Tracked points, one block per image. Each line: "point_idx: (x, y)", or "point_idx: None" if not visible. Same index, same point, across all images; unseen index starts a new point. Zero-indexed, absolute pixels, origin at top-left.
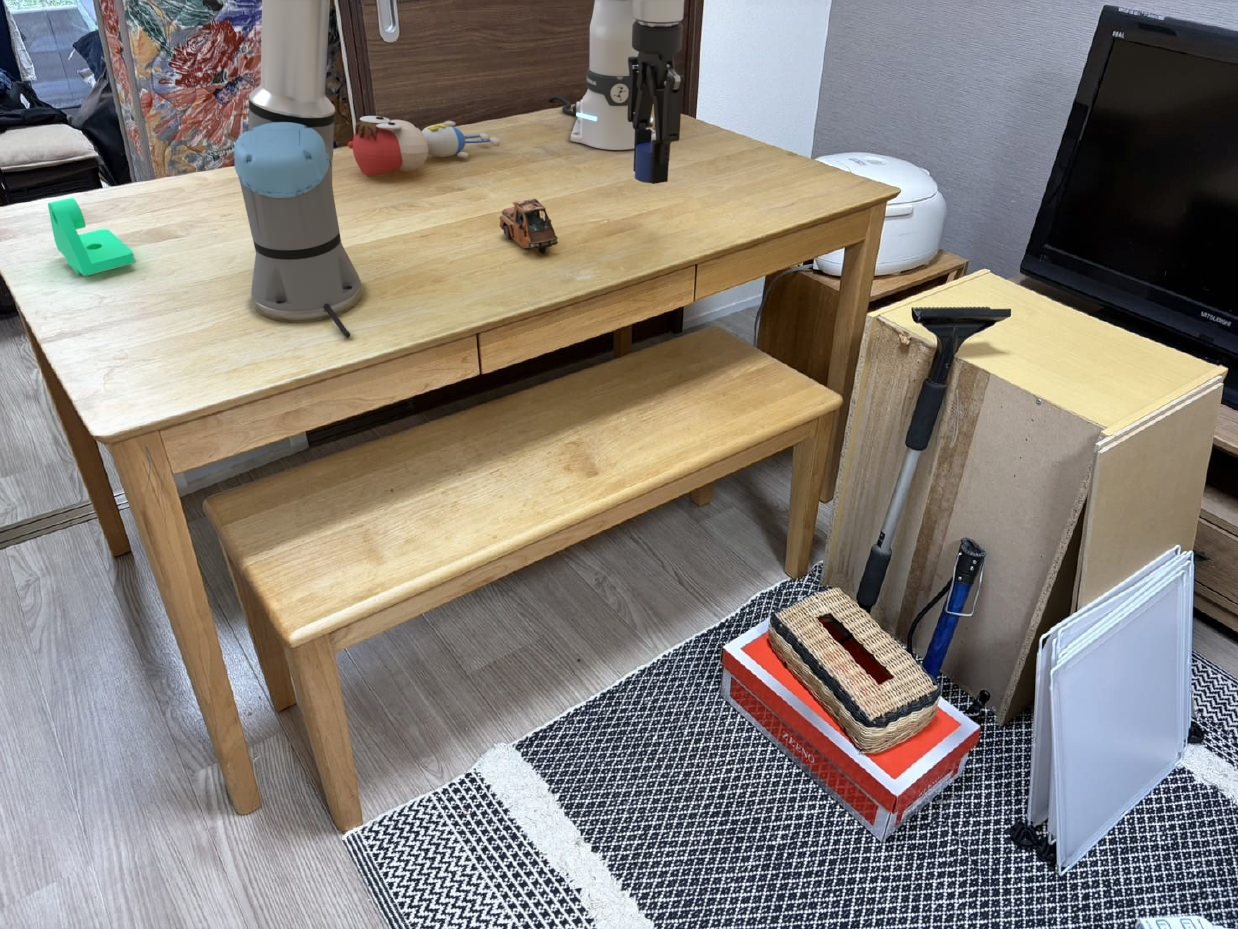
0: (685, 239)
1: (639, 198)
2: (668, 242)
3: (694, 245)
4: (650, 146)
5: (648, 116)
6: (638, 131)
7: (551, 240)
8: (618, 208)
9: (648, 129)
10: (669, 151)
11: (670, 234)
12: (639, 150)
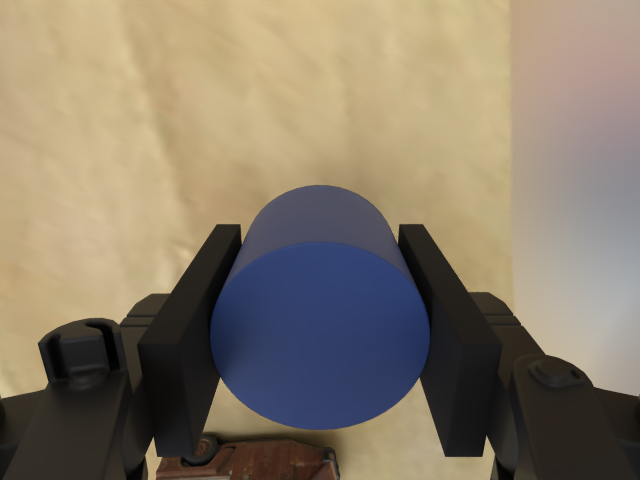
0: (408, 93)
1: (14, 54)
2: (402, 157)
3: (463, 91)
4: (298, 344)
5: (116, 471)
6: (180, 442)
7: (337, 473)
8: (92, 170)
9: (150, 358)
10: (530, 337)
11: (351, 119)
12: (337, 427)
